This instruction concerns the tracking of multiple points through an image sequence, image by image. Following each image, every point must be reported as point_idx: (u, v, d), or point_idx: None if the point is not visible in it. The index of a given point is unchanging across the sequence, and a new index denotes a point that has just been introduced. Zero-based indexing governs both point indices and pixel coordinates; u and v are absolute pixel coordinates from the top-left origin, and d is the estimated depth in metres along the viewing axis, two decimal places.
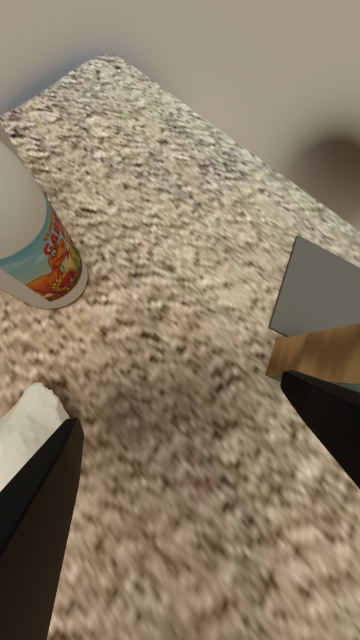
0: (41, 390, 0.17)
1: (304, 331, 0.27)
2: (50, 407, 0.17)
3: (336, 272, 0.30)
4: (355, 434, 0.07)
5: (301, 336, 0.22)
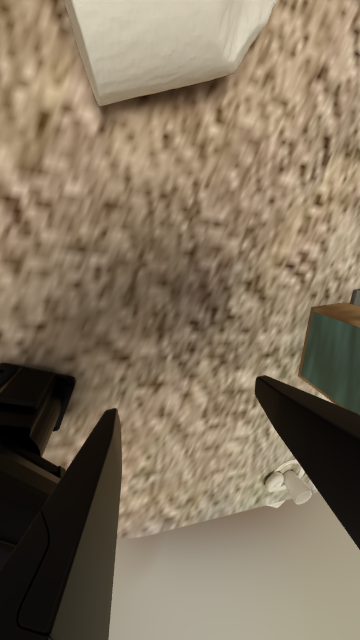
0: None
1: None
2: (259, 11, 0.11)
3: None
4: (320, 445, 0.06)
5: None
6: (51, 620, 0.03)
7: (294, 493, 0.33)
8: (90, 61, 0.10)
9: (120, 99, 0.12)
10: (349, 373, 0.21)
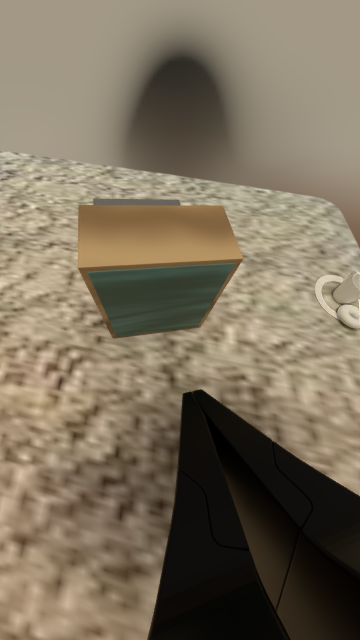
0: None
1: None
2: None
3: None
4: (233, 474, 0.06)
5: None
6: (237, 544, 0.04)
7: None
8: None
9: None
10: (166, 308, 0.17)
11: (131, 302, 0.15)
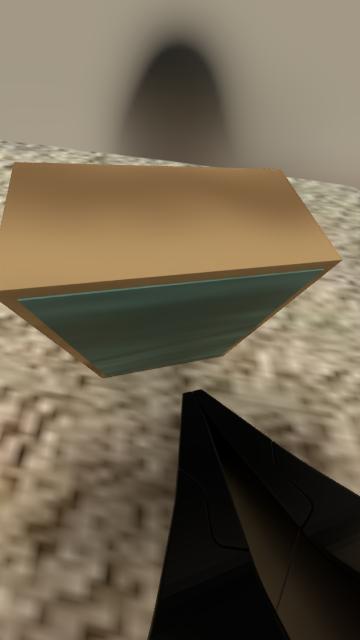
0: None
1: None
2: None
3: None
4: (233, 474, 0.06)
5: None
6: (236, 544, 0.04)
7: None
8: None
9: None
10: (182, 342, 0.11)
11: (125, 340, 0.09)
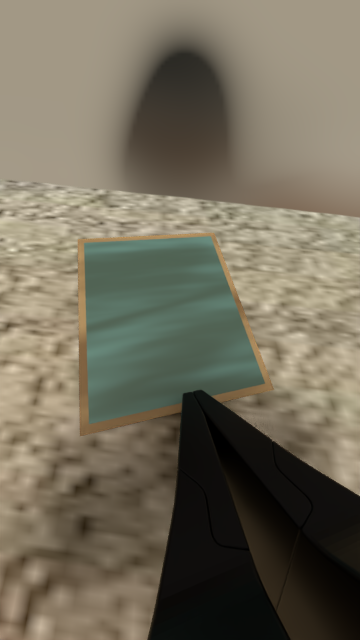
0: None
1: None
2: None
3: None
4: (233, 474, 0.06)
5: None
6: (236, 544, 0.04)
7: None
8: None
9: None
10: (172, 306, 0.12)
11: (121, 287, 0.12)
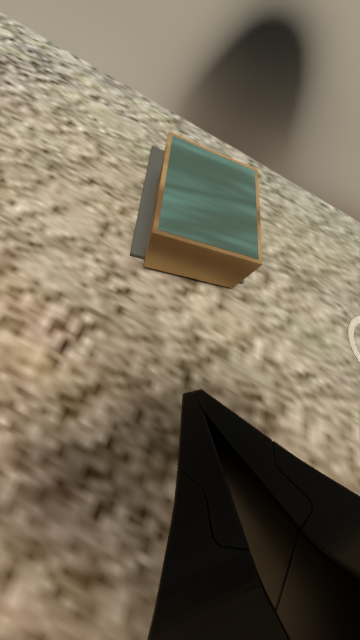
0: None
1: None
2: None
3: None
4: (233, 474, 0.06)
5: (150, 228, 0.21)
6: (237, 544, 0.04)
7: None
8: None
9: None
10: (218, 197, 0.18)
11: (190, 172, 0.18)
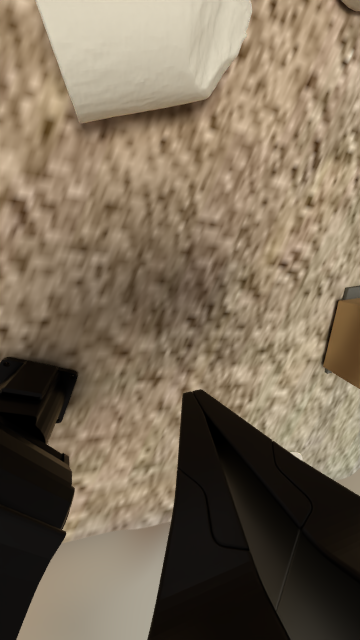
0: (247, 14, 0.12)
1: None
2: (228, 45, 0.12)
3: None
4: (233, 474, 0.06)
5: None
6: (237, 545, 0.04)
7: None
8: (66, 86, 0.11)
9: (99, 118, 0.13)
10: None
11: None
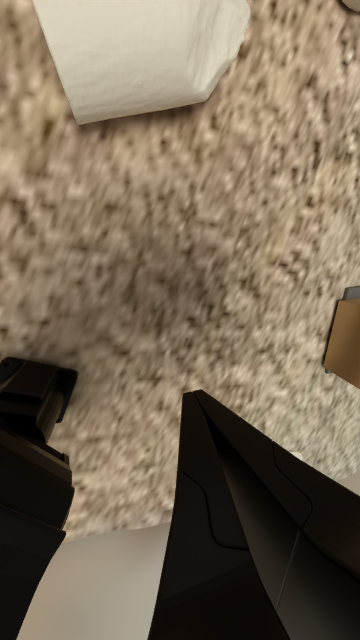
0: (245, 17, 0.12)
1: None
2: (227, 48, 0.12)
3: None
4: (233, 474, 0.06)
5: None
6: (236, 544, 0.04)
7: None
8: (64, 88, 0.11)
9: (97, 120, 0.13)
10: None
11: None
